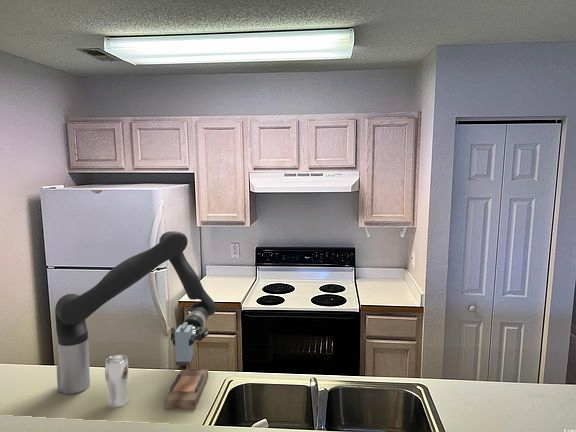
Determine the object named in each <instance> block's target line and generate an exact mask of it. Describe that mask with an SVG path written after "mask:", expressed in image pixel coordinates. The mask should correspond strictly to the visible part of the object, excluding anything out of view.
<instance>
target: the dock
mask: <svg viewBox="0 0 576 432" xmlns="http://www.w3.org/2000/svg"><path fill="white" fill-rule="evenodd" d="M179 371H180V372H179V373H177V375H176V376H175V378H174V380H173V382H172V384H171V386H170V387H169V391H168V392H167V394H166V396H165V397H164V409H179V410H180V409H185V410H186V409H193V410H195V409H196V408H197V406H198V404H199V401H200V399H201V396H202V394H203V391H204V389H205V386H206V384H207V382H208V379H209V369H188V368H187V369H186V368H185V369H183V368H182V369H180V370H179Z"/></svg>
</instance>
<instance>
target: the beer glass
mask: <svg viewBox="0 0 576 432" xmlns="http://www.w3.org/2000/svg"><path fill="white" fill-rule="evenodd" d="M104 365H105V366H104V367H105V369H104V374H105V376H104V377H105V382H106V387H107V392H108V399H107V406H108V407H110V408H113V409H114V408H115V409H116V408H120V407H122V406H125V405H126V404H127V403H128V400H129V399H128V395H127V385H128V377H129V362H128V356H127V355H125V354H115V355H111V356H109V357H107V358H106V359H105V364H104Z"/></svg>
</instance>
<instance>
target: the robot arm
mask: <svg viewBox="0 0 576 432" xmlns="http://www.w3.org/2000/svg"><path fill="white" fill-rule="evenodd" d="M188 243H189V242H188V237H187V235H186V234H185V233H183V232H181V231H176V230H174V231H173V230H172V231H166V232H164V233H162V234H161V236H160V238H159V242H158V243H157V244H156V245H154V246H153V247H151V248H149V249H147V250H144V251H143V252H139V253H137V254H135V255H133V256H130V257H129V258H127V259H125V260H123V261H122V262H119V264H117V265H116V266H114V267H112V269H110V270H109V271H108V272H107V273H106V274H105V275H104V276H103V278H102V279H100V281H99V282H98V283H96V284H95V286H93V287H91V288H90V289H89V290H87V291H85V292H83V293H82V294H80V295H79V294H76V293H68V294H65V295H63V296H61V297H60V298H59V299H58V300H57V302H56V304H55V308H54V316H55V327H56V329H55V330H56V336H57V346H58V364H57V365H56V385H57V392H60V393H62V394H64V395H73V394H77V393H80V392H83V391H85V390H87V389H88V388H89V387H90V386H91V378H90V377H91V375H90V372H91V371H90V370H91V369H90V350H89V349H90V347H89V331H88V327H87V323H86V319H88V318H89V317H90V316H92V314H94V313H95V312H96V311H97V310H98V309H100V308H101V307H102V306H103V305H105V304H106V303H107V302H109V301H111V300H113V298H115V297H116V296H118V295H119V294H121V293H123V292H125V291H126V290H127V289H129V288H131V287H132V286H133V285H134V284H137V283H138V282H139V281H141V280H142V279H143V278H144V277H146V276H147V275H148V274H150V273H151V272H153V271H154V270H155V269H157V268H158V267H159V266H160V265H162V264H163V263H165V262H168V261H169V262H170V264H171V265H172V267H173V269H174V271H175V273H176V274H177V276H178V278H179V281H180V283H181V285H182V286H183V289H184V291H185V293H186V295H187V298H188V299H189V300H191V301H194V300H200V301H197V302H195V303H192V305H190V310H189V312H190V313H189V314H188V315H187V316H186V317H185V319H184V320H183V322H182V324H181V325H183V323H184V322H188V325H193V333H192V335H191V337H190V339H189V346H191V345H192V344H193V345H194V344H195V343H196V341H198V342H201V341H203V339H205V338H206V337H208V335H209V328H208V327H205V326H206V325H205V324H206V322H207V320H208V317H210V316H213V315H214V314H215V313H216V312H217V304H216V303H215V301H214V300H213V299H212V298H211V297H210V295H209V294H208V293H207V292H206V291H205V289H204V287H203V285H202V282H201V280H200V279H199V276H198V275H197V273H196V272H195V270H194V268H193V267H192V266H191V264H190V263H189V262H188V260H187V258H186V256H185V253H184V251H185V250H186V248H187V246H188ZM176 330H177V329H175V328H174V327H171V328H170V341H172V345H173V346H175V331H176Z"/></svg>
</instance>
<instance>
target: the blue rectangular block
mask: <svg viewBox="0 0 576 432" xmlns="http://www.w3.org/2000/svg"><path fill="white" fill-rule="evenodd" d="M183 322H184V321H183ZM183 322H182V324H183V325H182V324H180V325H179V326H178V327H177V329H175V330H176V331H175V348H174V349H175V350H174V351H175V365H176V366H190V365H191V361H192V360H193V359H194V344H192V345H191V346H189V339H190V337H191V335H192V333H193V325H188V322H184V323H183Z"/></svg>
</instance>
